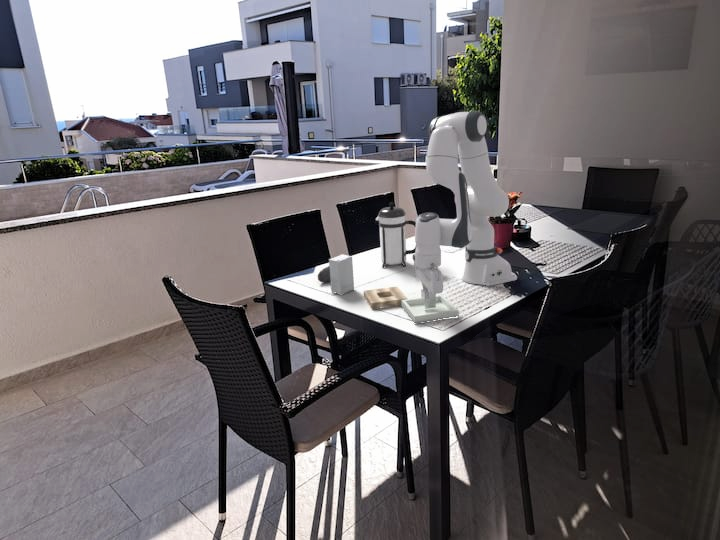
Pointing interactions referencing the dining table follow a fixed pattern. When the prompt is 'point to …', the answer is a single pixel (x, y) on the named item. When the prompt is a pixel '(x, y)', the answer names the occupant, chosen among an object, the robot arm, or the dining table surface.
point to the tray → (423, 315)
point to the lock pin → (425, 301)
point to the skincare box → (341, 274)
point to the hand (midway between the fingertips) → (428, 296)
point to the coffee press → (393, 235)
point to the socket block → (384, 297)
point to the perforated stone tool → (324, 275)
